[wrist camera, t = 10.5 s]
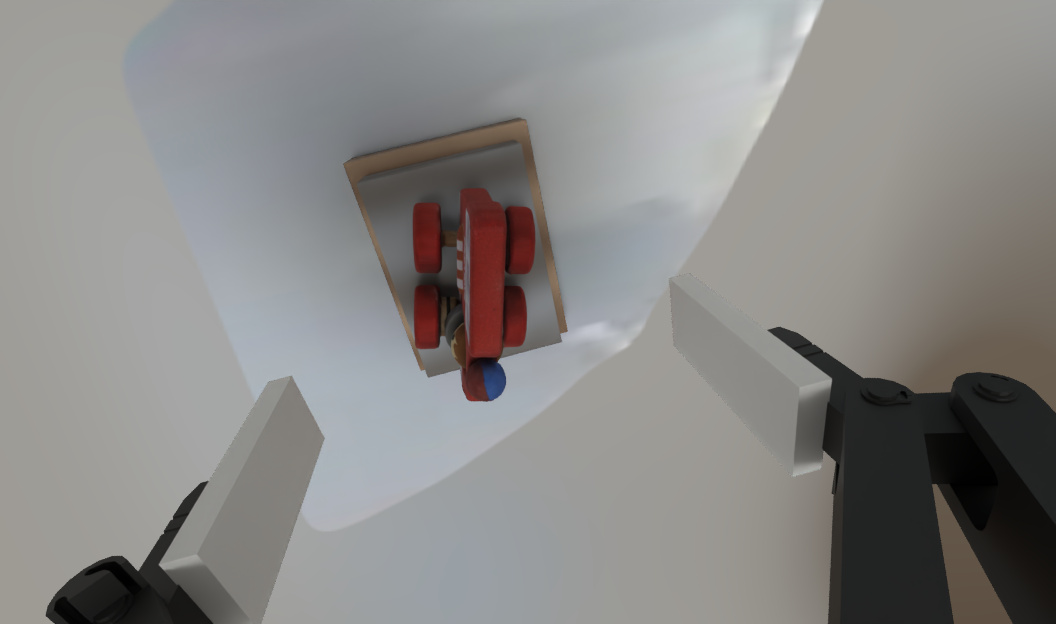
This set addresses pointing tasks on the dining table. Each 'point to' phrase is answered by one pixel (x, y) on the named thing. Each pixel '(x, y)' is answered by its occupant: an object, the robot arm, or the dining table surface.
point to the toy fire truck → (474, 286)
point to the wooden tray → (456, 222)
